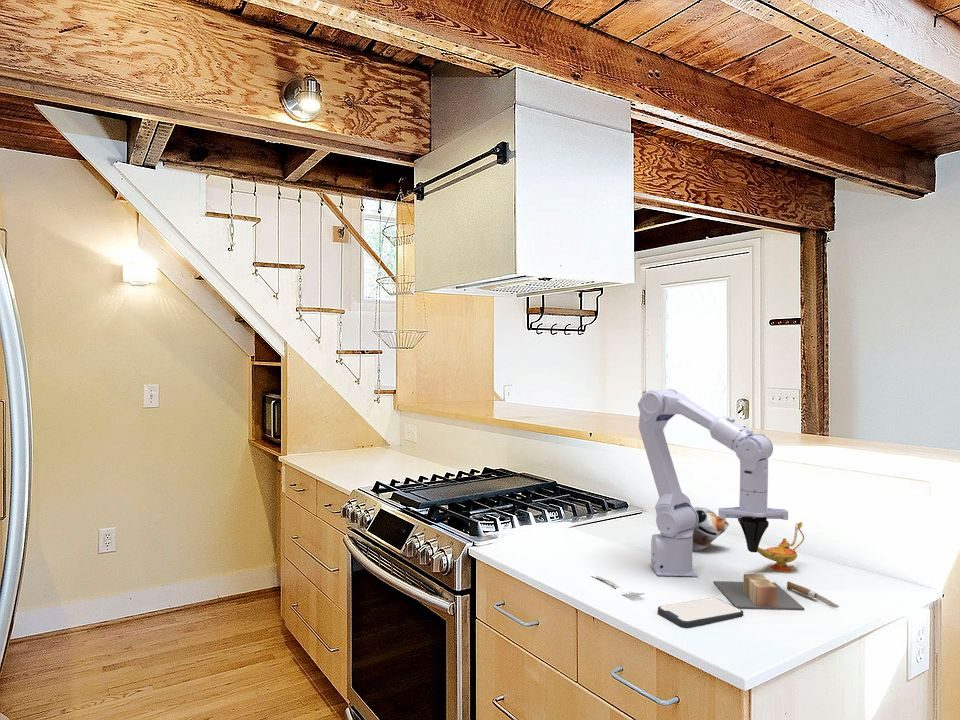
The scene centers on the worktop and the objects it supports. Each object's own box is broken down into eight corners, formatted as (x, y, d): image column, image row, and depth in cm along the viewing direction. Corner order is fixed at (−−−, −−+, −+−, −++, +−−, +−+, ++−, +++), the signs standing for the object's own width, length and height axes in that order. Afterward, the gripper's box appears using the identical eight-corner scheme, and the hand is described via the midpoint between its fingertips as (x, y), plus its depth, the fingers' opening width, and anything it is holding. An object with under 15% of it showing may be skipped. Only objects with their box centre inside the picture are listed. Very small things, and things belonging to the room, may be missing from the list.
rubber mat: (735, 608, 139) (736, 606, 139) (713, 582, 154) (713, 581, 154) (804, 610, 139) (804, 608, 139) (774, 584, 154) (774, 582, 154)
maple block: (743, 591, 148) (757, 606, 140) (743, 573, 147) (757, 587, 139) (761, 592, 147) (776, 606, 139) (762, 574, 147) (776, 587, 139)
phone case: (714, 603, 143) (654, 613, 137) (714, 596, 143) (654, 606, 137) (746, 619, 135) (684, 631, 129) (746, 611, 135) (684, 622, 129)
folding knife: (842, 611, 139) (842, 601, 139) (836, 612, 138) (837, 602, 138) (789, 588, 151) (790, 580, 151) (784, 589, 151) (784, 581, 151)
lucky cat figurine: (704, 537, 190) (726, 499, 185) (716, 567, 179) (740, 527, 174) (655, 523, 189) (676, 484, 183) (664, 552, 178) (687, 511, 172)
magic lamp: (737, 569, 164) (738, 524, 164) (792, 561, 171) (793, 518, 170) (758, 578, 157) (759, 532, 157) (814, 569, 164) (815, 524, 164)
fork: (580, 567, 165) (580, 560, 165) (646, 601, 144) (646, 593, 144) (569, 569, 164) (569, 561, 164) (634, 603, 142) (634, 595, 142)
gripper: (726, 493, 144) (725, 555, 144) (794, 494, 143) (793, 557, 143) (715, 486, 151) (714, 546, 151) (781, 487, 150) (779, 547, 151)
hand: (752, 551), depth 148 cm, fingers closed
